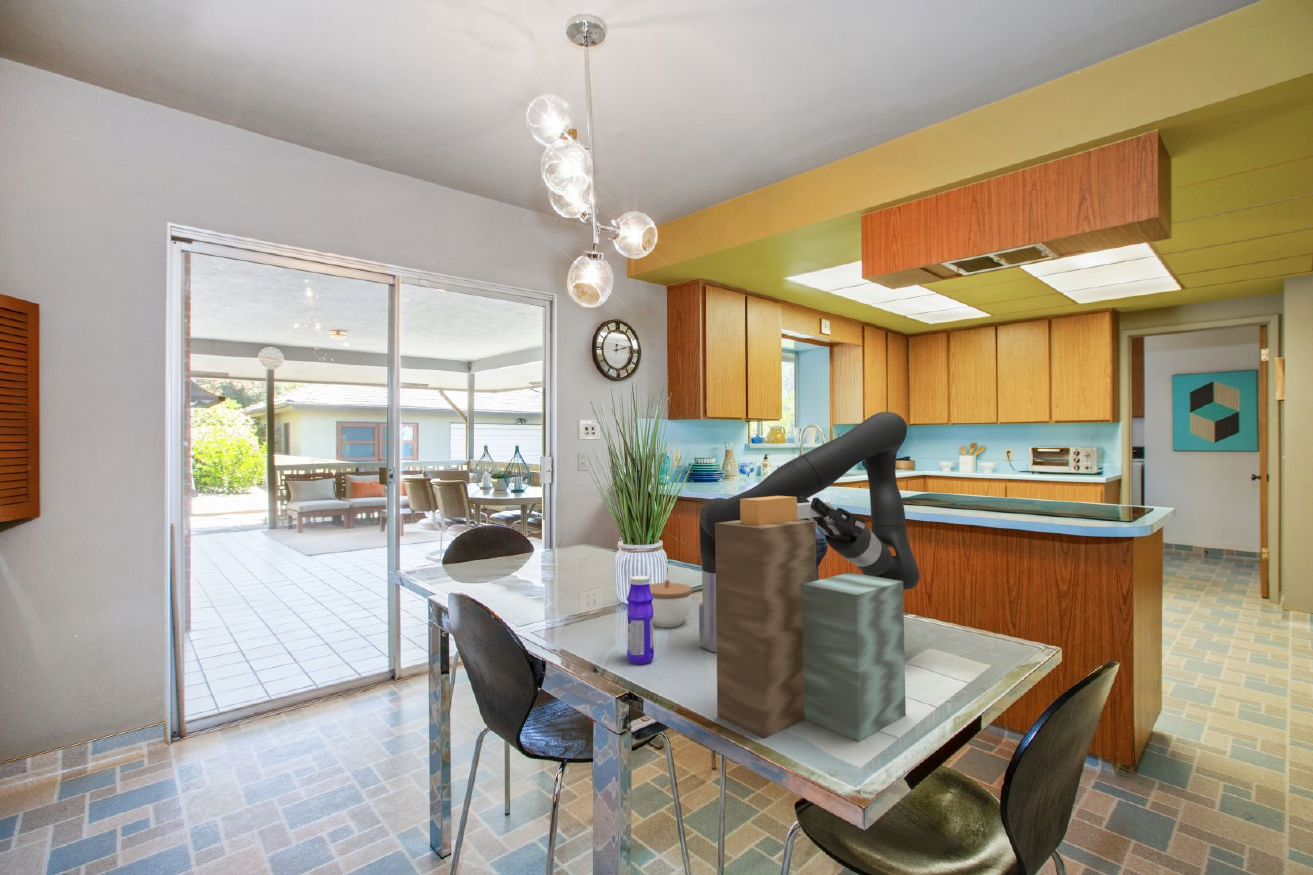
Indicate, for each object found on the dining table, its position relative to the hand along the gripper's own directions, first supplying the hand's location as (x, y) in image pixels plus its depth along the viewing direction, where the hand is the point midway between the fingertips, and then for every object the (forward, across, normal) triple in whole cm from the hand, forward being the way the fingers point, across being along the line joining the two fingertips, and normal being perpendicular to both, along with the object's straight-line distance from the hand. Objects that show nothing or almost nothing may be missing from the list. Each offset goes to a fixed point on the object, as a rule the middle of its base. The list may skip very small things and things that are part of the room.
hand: (806, 501), depth 108 cm
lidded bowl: (-26, -51, +25) cm, 63 cm away
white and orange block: (+3, 0, +5) cm, 6 cm away
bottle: (-8, -35, +36) cm, 51 cm away
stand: (-12, +5, +33) cm, 36 cm away
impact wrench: (-51, -27, +11) cm, 58 cm away
